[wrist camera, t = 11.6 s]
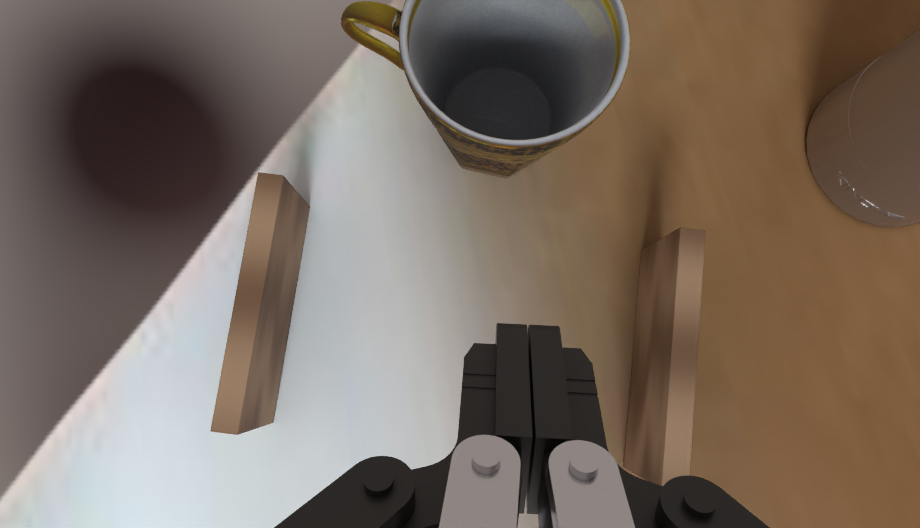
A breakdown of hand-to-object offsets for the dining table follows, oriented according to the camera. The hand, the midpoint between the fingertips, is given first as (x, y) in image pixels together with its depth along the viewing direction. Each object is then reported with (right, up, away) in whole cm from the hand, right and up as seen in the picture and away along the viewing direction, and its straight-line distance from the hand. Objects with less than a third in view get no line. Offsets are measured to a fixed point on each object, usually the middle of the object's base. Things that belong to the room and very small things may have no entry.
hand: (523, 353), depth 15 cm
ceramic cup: (-1, +11, +22) cm, 24 cm away
